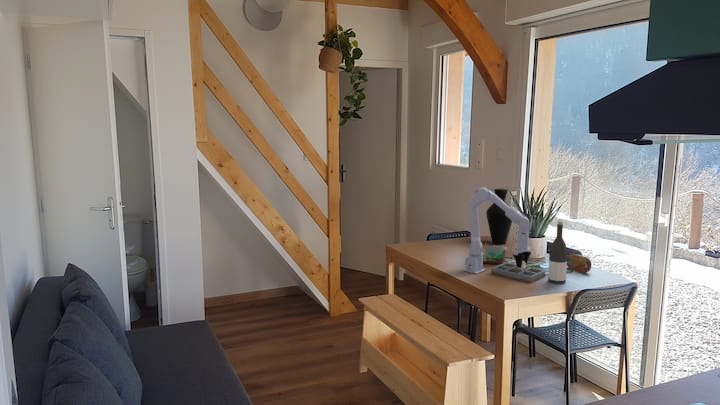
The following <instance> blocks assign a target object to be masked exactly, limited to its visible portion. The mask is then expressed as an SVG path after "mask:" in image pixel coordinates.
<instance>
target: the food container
mask: <svg viewBox="0 0 720 405" xmlns="http://www.w3.org/2000/svg"><path fill="white" fill-rule="evenodd" d="M484 249H485V256H486V257H485V258H486V263H487V262H488V263H487V264H490V263H491V264H490V265H500V264H499V263H501V262H503V261H504V262H505V259H506V252H507V250H508V247H507V245H503V246H501V245H489V244H485V245H484Z"/></svg>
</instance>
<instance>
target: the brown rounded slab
mask: <svg viewBox="0 0 720 405" xmlns="http://www.w3.org/2000/svg"><path fill="white" fill-rule="evenodd" d="M567 268H568V269H569V268H570V270H572V271H575V272H578V273H581V274H584V273H588V272H590V271H591V269H592V261H591V260H590V258H589V257H587V256H584V255H580V254H578V253H577V254H576V253H569V254H567Z"/></svg>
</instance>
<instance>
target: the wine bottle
mask: <svg viewBox="0 0 720 405" xmlns="http://www.w3.org/2000/svg"><path fill="white" fill-rule="evenodd" d="M556 226H557V227H556V237H555V239H553V242H552V244H551V246H550V248H549V257H548V259H549V260H548V272H547V274H548V276H547V281H548V282H549V283H551V284H555V285H561V284H562V285H564V284H565V283H566V280H567V268H568V266H567V256H568V248H567V245H566V242H565V240H564V238H563V228H564V224H563V221H561V220H559V221H558V220H557V223H556Z"/></svg>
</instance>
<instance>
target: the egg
mask: <svg viewBox="0 0 720 405" xmlns="http://www.w3.org/2000/svg"><path fill="white" fill-rule="evenodd" d="M526 267H527V265H526V263H525V261H522V266H521V268H519V267H517V269H521V270H526Z"/></svg>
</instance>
